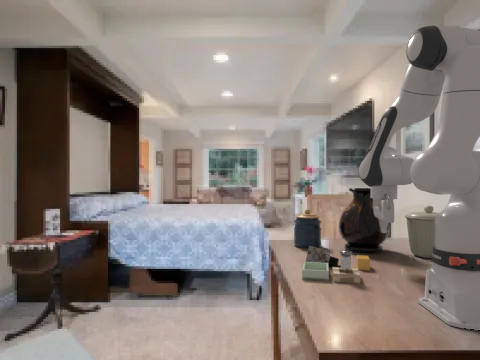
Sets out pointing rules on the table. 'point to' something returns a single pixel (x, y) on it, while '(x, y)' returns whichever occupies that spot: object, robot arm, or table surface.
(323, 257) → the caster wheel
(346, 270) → the stop pin
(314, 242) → the canister
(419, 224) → the canister
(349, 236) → the amphora vase
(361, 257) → the chock
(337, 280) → the pin stand
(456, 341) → the table surface
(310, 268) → the tray
